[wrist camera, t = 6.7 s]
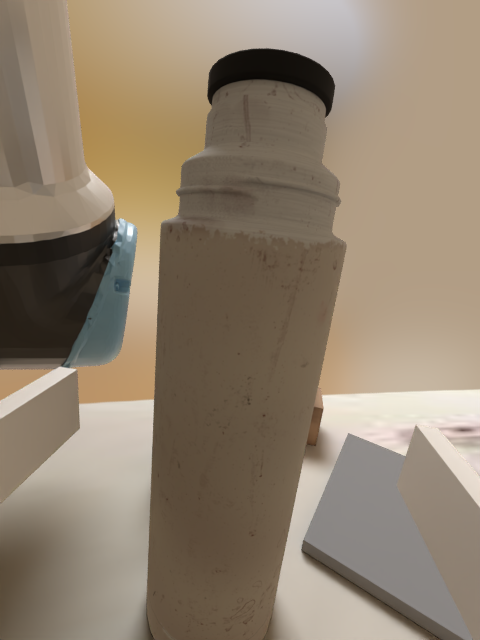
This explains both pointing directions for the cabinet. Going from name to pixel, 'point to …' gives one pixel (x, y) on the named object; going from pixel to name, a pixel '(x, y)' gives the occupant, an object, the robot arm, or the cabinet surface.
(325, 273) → the thermos bottle
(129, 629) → the cabinet surface
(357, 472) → the gray mat
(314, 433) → the walnut block
